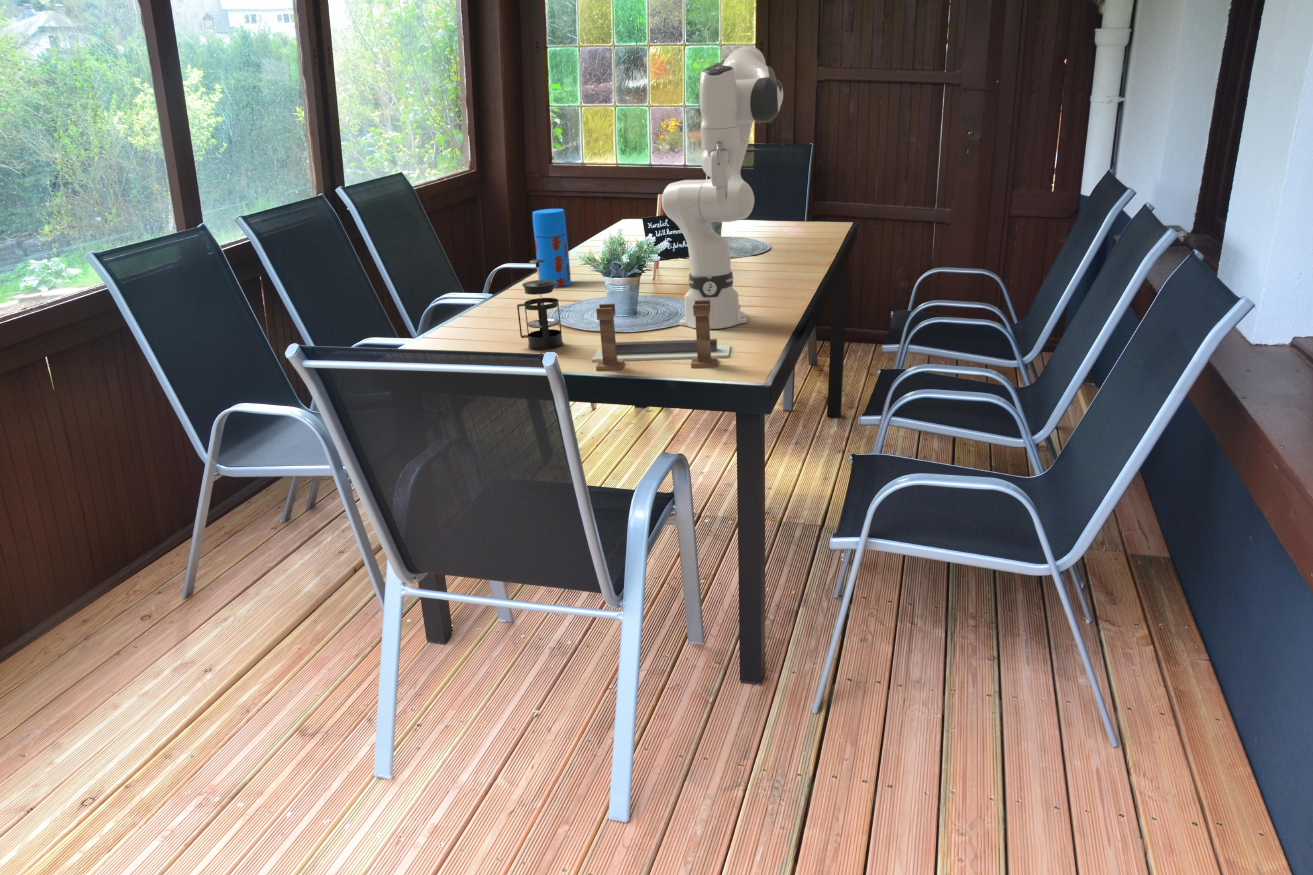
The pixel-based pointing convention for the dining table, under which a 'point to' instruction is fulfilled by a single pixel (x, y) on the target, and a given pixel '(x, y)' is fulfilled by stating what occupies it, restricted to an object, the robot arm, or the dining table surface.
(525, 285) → the french press
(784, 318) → the dining table surface
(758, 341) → the dining table surface
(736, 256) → the dining table surface
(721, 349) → the mat
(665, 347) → the rail
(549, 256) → the thermos
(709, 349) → the stands
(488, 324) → the dining table surface
